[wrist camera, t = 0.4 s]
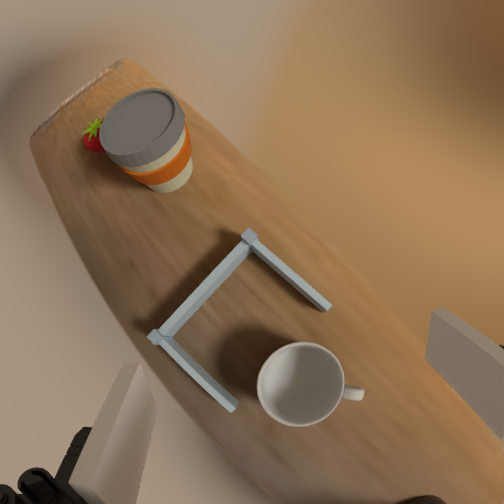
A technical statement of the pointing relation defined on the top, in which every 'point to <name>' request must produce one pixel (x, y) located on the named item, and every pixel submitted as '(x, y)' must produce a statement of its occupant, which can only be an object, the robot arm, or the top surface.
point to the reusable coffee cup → (149, 139)
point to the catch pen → (204, 291)
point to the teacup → (303, 384)
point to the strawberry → (93, 136)
